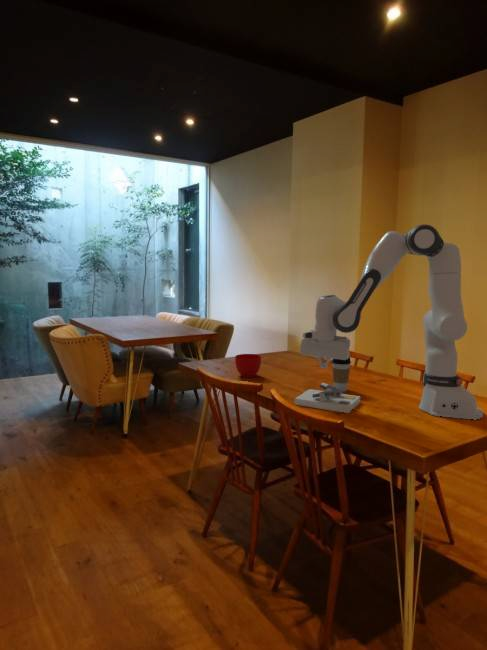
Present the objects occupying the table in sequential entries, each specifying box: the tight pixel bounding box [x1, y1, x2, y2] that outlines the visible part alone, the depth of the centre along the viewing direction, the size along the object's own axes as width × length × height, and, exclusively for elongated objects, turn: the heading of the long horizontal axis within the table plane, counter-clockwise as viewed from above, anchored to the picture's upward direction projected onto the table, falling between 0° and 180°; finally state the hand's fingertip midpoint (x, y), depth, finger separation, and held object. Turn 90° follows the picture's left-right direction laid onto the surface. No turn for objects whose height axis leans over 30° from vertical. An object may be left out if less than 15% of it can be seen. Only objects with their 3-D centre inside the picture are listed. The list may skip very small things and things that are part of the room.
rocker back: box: [319, 382, 344, 396], centre depth 188 cm, size 9×4×1 cm, turn 61°
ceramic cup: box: [234, 353, 262, 378], centre depth 232 cm, size 13×17×10 cm
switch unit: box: [294, 385, 361, 414], centre depth 185 cm, size 22×16×6 cm
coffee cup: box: [331, 356, 352, 392], centre depth 205 cm, size 8×8×15 cm
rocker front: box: [312, 390, 337, 398], centre depth 181 cm, size 9×4×1 cm, turn 60°
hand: (323, 367), depth 189 cm, fingers closed
